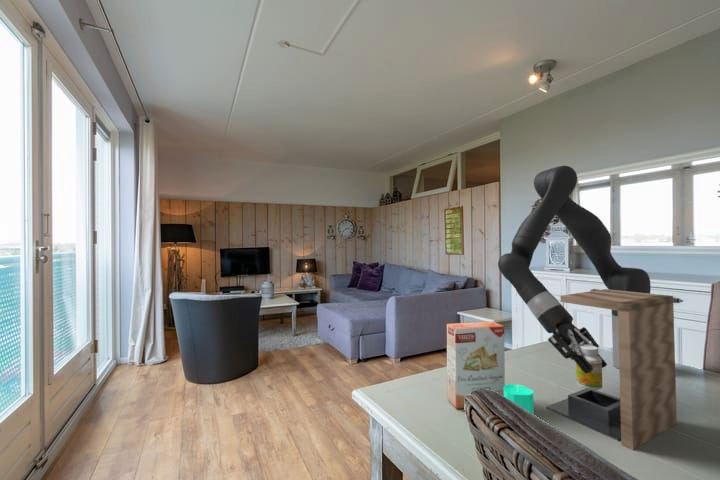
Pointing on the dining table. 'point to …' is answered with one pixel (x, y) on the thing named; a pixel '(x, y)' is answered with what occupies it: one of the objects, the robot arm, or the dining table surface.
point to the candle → (520, 396)
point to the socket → (592, 411)
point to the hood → (641, 360)
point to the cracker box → (474, 359)
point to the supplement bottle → (595, 376)
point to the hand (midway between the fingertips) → (596, 369)
